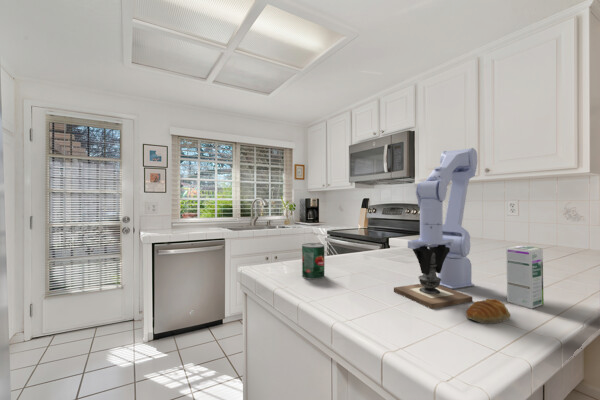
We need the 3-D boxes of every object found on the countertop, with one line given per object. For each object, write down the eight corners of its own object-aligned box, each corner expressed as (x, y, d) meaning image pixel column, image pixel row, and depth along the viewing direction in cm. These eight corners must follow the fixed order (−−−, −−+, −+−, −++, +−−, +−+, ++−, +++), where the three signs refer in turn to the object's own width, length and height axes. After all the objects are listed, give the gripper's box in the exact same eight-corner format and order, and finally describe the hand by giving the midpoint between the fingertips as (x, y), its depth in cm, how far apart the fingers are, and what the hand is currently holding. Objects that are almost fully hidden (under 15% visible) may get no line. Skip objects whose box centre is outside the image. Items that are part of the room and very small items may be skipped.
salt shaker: (443, 295, 77) (444, 250, 77) (420, 293, 78) (420, 249, 78) (438, 288, 82) (438, 246, 82) (416, 287, 84) (416, 245, 84)
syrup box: (532, 309, 70) (532, 250, 70) (505, 301, 75) (505, 246, 75) (544, 305, 73) (544, 248, 73) (517, 298, 78) (517, 244, 78)
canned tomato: (325, 279, 97) (325, 246, 97) (302, 279, 97) (301, 246, 97) (323, 273, 105) (323, 243, 105) (302, 273, 105) (302, 243, 105)
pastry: (487, 328, 60) (487, 310, 60) (457, 317, 66) (457, 300, 66) (512, 320, 65) (512, 303, 65) (482, 310, 71) (482, 294, 71)
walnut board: (430, 286, 89) (430, 281, 89) (472, 301, 76) (472, 296, 76) (393, 291, 84) (393, 287, 84) (431, 308, 71) (431, 303, 71)
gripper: (439, 222, 86) (439, 267, 86) (399, 223, 81) (400, 272, 81) (460, 223, 79) (459, 273, 79) (418, 225, 74) (418, 278, 74)
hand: (431, 273), depth 80 cm, fingers closed on salt shaker, 3 cm apart
